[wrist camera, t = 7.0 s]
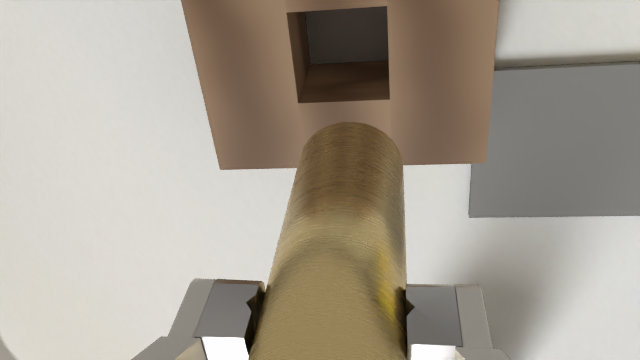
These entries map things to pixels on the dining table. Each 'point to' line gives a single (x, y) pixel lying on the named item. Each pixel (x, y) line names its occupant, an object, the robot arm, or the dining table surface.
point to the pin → (339, 254)
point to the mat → (561, 143)
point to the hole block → (344, 79)
